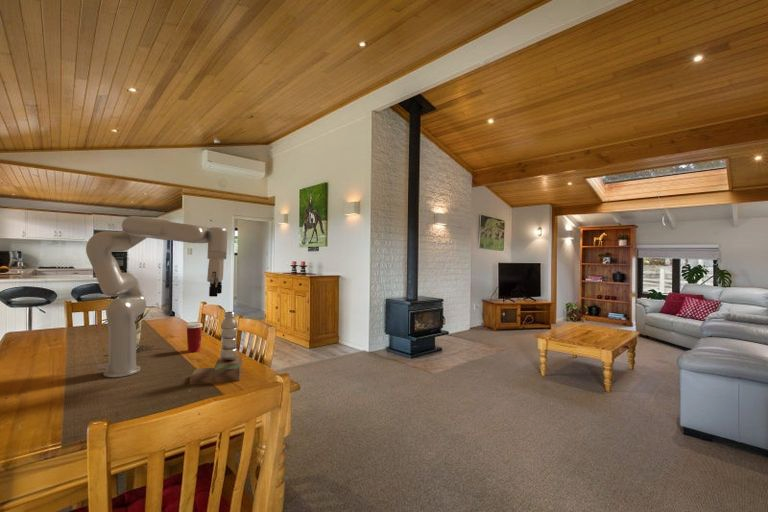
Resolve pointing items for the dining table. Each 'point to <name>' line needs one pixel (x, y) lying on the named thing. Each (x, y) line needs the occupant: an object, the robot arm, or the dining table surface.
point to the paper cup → (194, 336)
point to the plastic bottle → (229, 337)
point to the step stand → (218, 372)
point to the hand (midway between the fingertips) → (215, 294)
